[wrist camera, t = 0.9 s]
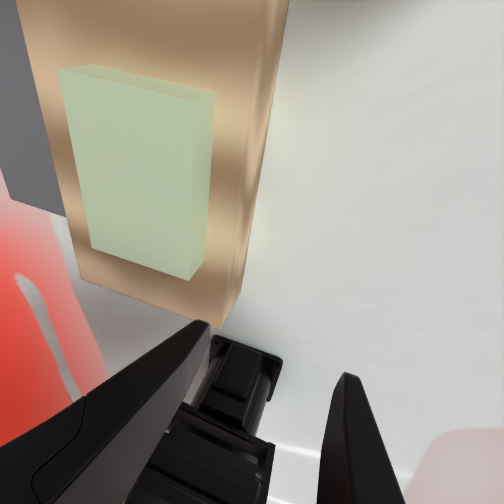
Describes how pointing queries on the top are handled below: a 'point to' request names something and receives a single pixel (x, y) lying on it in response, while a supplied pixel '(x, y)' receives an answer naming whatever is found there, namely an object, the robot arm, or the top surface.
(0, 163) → the mat
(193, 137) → the pale green foam block
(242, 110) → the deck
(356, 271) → the top surface
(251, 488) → the robot arm
